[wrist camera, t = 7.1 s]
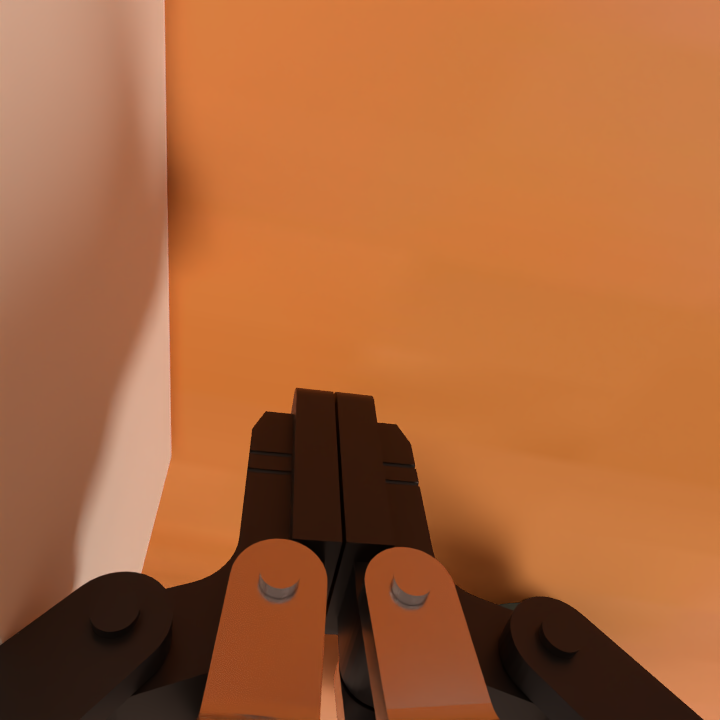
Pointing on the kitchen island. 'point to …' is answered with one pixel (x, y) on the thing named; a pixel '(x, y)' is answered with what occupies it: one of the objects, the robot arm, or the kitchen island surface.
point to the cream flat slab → (81, 295)
